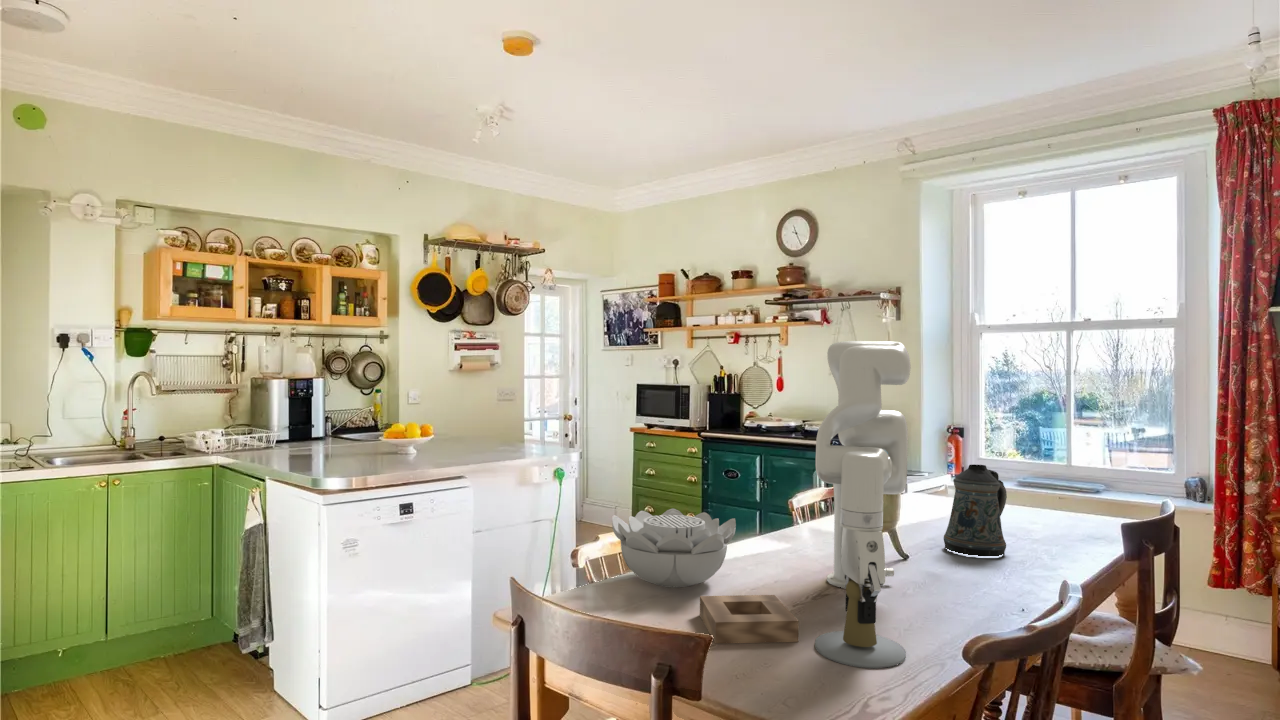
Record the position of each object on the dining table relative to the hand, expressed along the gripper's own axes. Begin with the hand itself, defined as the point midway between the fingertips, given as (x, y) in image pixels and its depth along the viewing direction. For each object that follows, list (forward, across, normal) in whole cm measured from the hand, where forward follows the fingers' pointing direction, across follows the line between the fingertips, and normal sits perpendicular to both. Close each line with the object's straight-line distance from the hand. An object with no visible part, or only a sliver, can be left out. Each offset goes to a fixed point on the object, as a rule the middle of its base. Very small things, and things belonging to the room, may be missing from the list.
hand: (860, 616), depth 136 cm
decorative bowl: (+7, +45, +27) cm, 53 cm away
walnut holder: (+6, +13, +18) cm, 23 cm away
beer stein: (+7, +72, -65) cm, 97 cm away
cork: (+5, 0, 0) cm, 5 cm away
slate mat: (+6, 0, 0) cm, 6 cm away
